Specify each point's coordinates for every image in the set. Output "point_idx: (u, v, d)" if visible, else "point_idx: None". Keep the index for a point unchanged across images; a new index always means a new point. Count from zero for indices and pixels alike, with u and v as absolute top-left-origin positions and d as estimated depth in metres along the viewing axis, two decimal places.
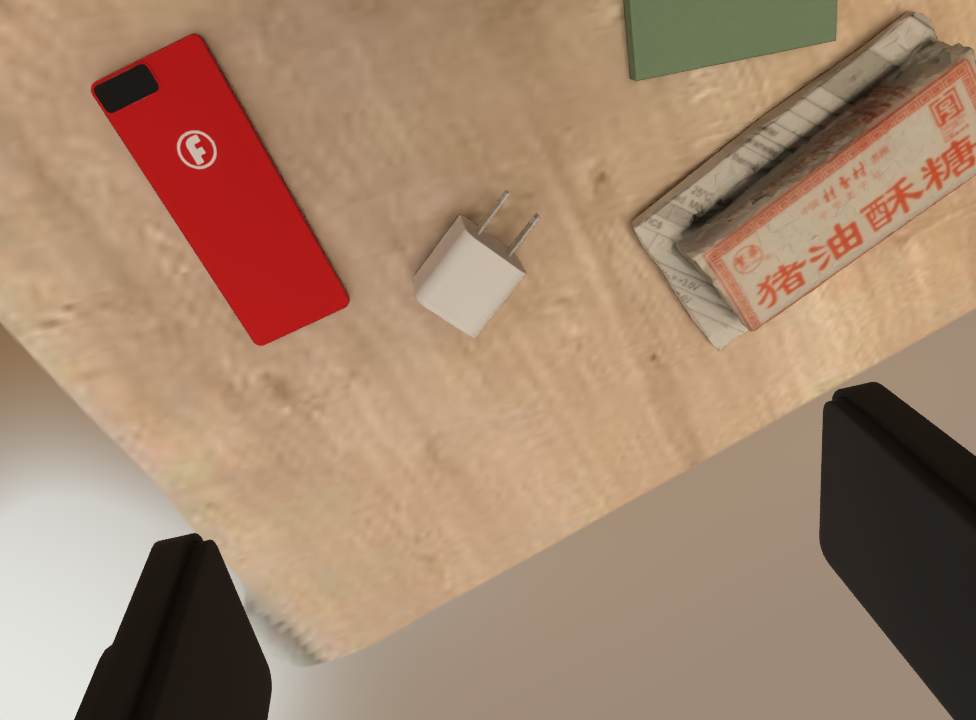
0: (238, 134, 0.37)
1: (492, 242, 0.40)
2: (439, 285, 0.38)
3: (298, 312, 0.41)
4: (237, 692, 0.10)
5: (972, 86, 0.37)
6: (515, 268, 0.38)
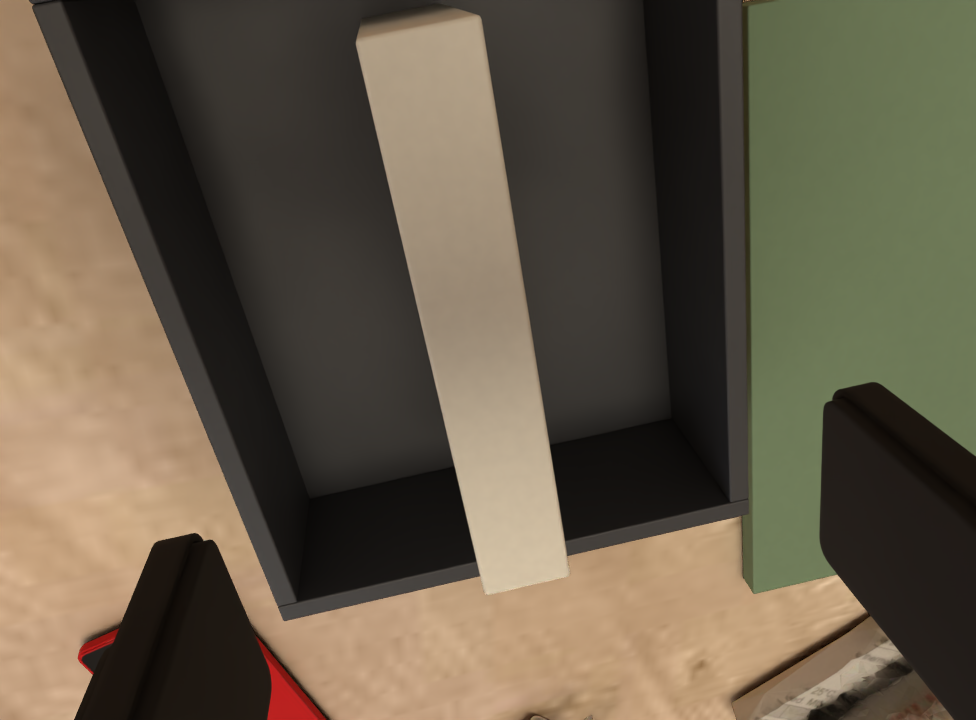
0: None
1: None
2: None
3: None
4: (237, 692, 0.10)
5: None
6: None
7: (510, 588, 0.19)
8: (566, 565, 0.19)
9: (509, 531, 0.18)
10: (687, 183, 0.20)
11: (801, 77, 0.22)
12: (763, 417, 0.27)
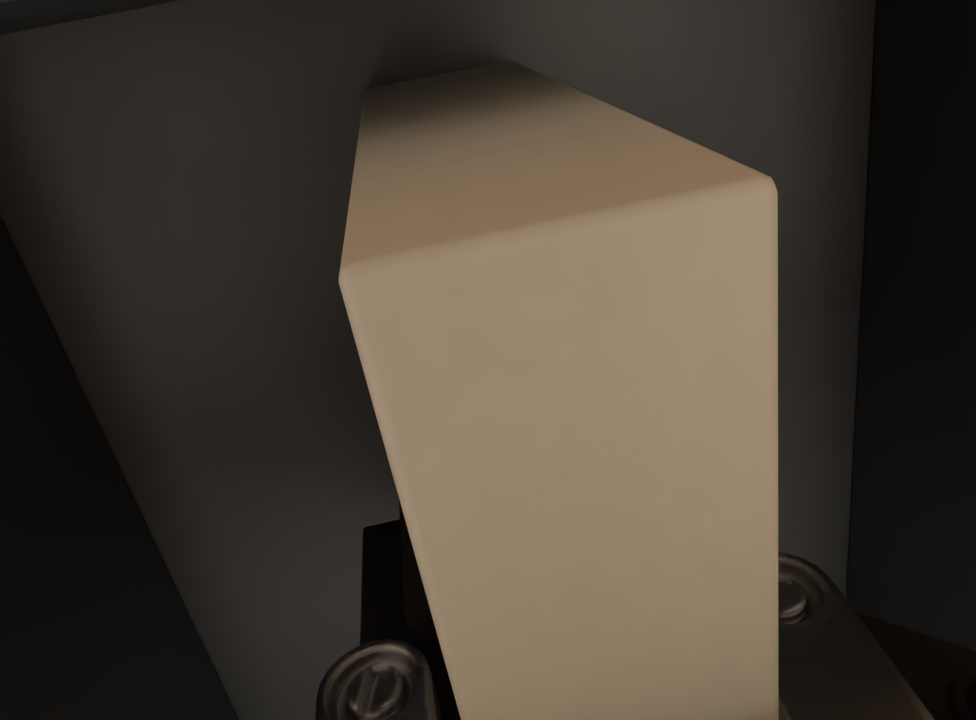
0: None
1: None
2: None
3: None
4: None
5: None
6: None
7: None
8: None
9: None
10: (968, 390, 0.11)
11: None
12: None
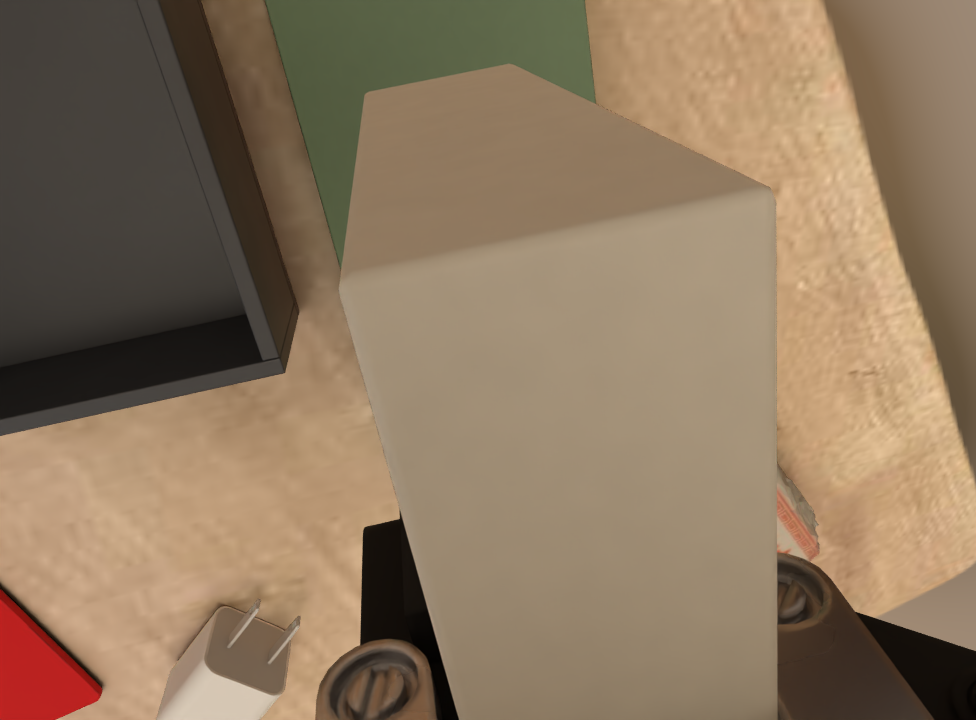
0: None
1: (251, 645, 0.35)
2: (178, 715, 0.33)
3: (42, 710, 0.37)
4: None
5: None
6: (266, 693, 0.34)
7: None
8: None
9: None
10: None
11: None
12: None
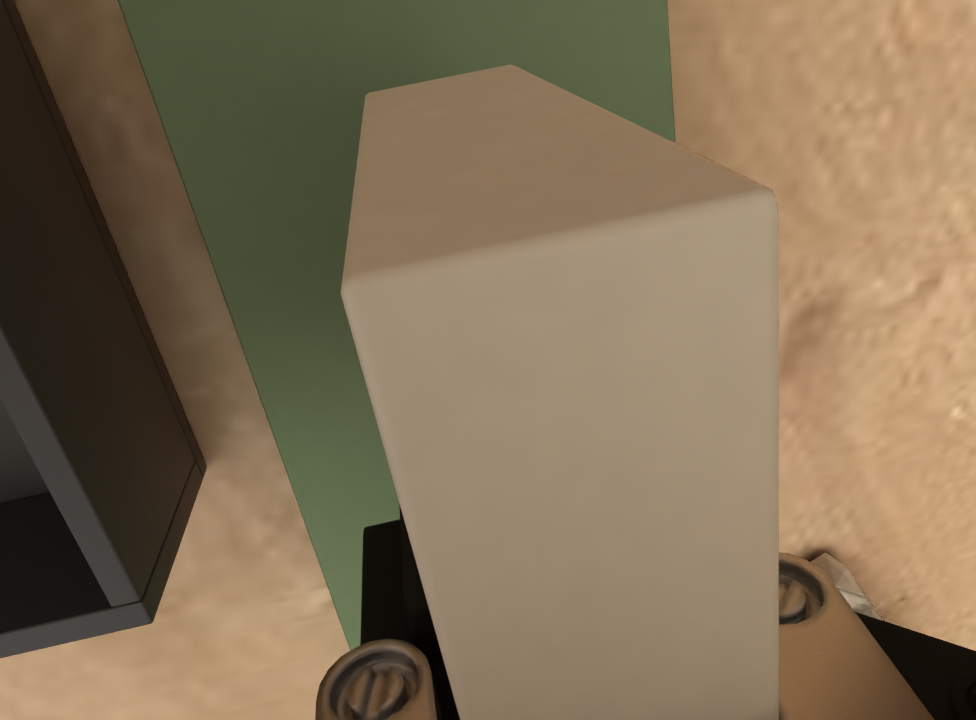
0: None
1: None
2: None
3: None
4: None
5: None
6: None
7: None
8: None
9: None
10: None
11: None
12: (301, 464, 0.19)
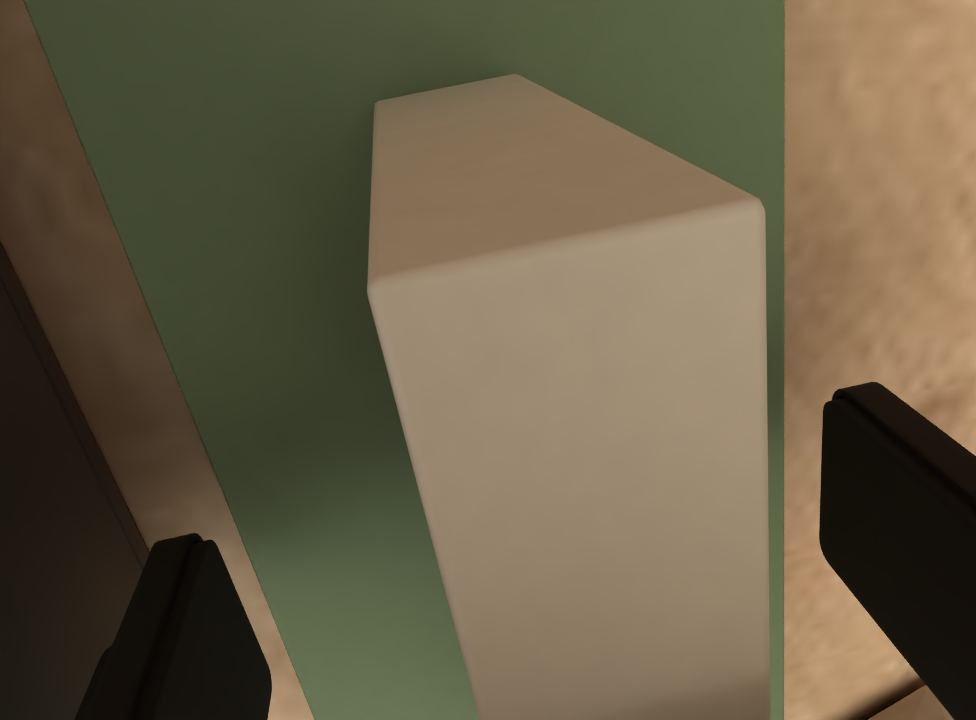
0: None
1: None
2: None
3: None
4: (237, 692, 0.10)
5: None
6: None
7: None
8: None
9: None
10: None
11: None
12: (291, 606, 0.15)
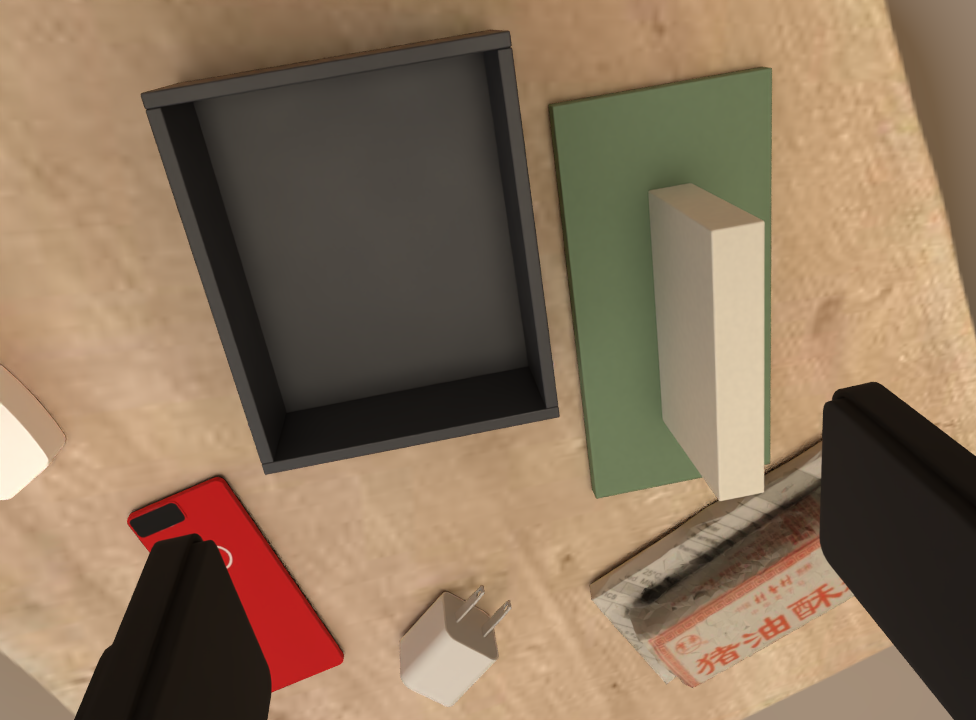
0: (251, 546, 0.43)
1: (469, 622, 0.46)
2: (421, 672, 0.44)
3: (298, 669, 0.47)
4: (237, 692, 0.10)
5: None
6: (488, 658, 0.44)
7: (732, 497, 0.35)
8: (763, 485, 0.35)
9: (737, 464, 0.34)
10: (512, 209, 0.34)
11: (590, 148, 0.36)
12: (589, 367, 0.40)
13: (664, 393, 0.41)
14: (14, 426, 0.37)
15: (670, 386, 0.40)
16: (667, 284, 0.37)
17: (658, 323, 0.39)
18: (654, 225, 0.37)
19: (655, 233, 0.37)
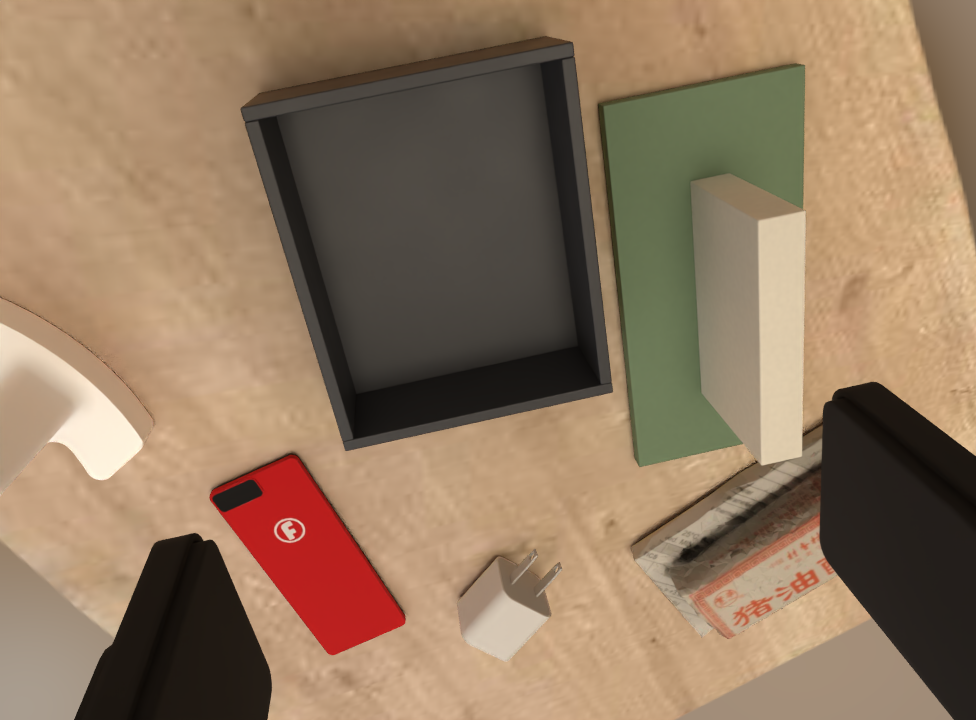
0: (322, 518, 0.46)
1: (523, 583, 0.49)
2: (481, 630, 0.47)
3: (364, 631, 0.51)
4: (237, 692, 0.10)
5: None
6: (542, 615, 0.48)
7: (773, 462, 0.39)
8: (801, 450, 0.38)
9: (778, 431, 0.38)
10: (569, 203, 0.37)
11: (637, 143, 0.39)
12: (634, 345, 0.44)
13: (704, 367, 0.44)
14: (112, 412, 0.40)
15: (710, 361, 0.43)
16: (709, 267, 0.40)
17: (698, 303, 0.43)
18: (695, 213, 0.40)
19: (697, 220, 0.40)
